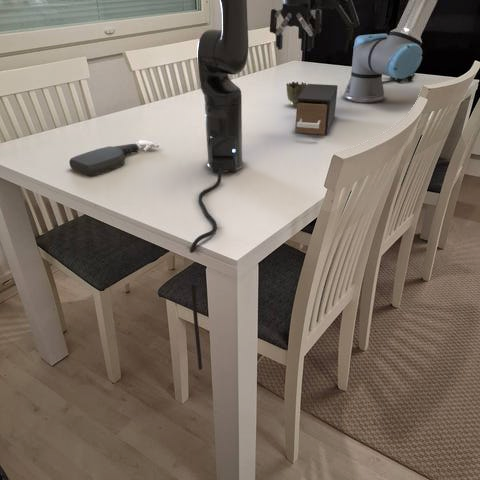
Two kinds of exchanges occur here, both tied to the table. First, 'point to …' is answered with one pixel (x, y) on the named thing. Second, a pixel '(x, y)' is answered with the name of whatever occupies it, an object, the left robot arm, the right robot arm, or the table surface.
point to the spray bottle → (106, 157)
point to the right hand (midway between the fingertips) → (323, 50)
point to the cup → (294, 91)
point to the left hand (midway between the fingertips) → (294, 49)
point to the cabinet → (321, 99)
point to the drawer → (311, 117)
